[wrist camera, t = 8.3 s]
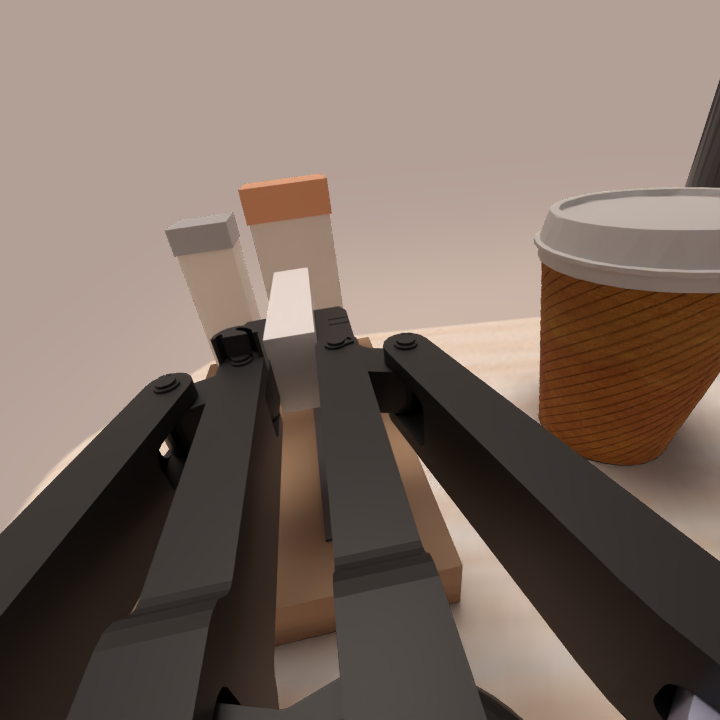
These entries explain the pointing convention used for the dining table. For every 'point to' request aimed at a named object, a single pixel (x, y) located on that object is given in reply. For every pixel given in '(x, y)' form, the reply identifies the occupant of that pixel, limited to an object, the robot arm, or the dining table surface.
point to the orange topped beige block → (294, 232)
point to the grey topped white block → (214, 271)
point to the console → (313, 525)
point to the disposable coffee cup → (628, 318)
